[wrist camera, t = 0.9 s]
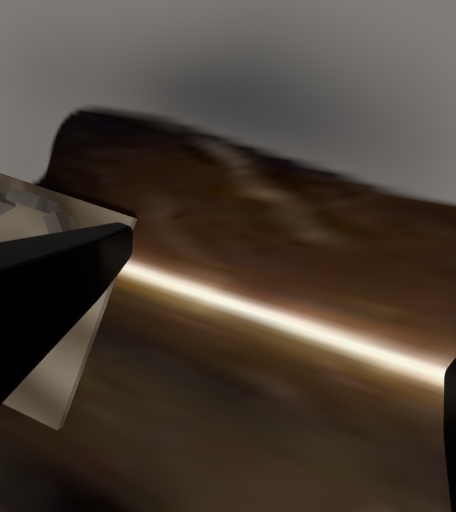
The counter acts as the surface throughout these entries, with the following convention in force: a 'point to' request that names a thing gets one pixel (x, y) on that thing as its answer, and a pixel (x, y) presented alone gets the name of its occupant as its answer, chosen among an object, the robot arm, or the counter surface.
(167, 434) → the counter surface
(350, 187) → the counter surface
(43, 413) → the collar plate
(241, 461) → the counter surface
